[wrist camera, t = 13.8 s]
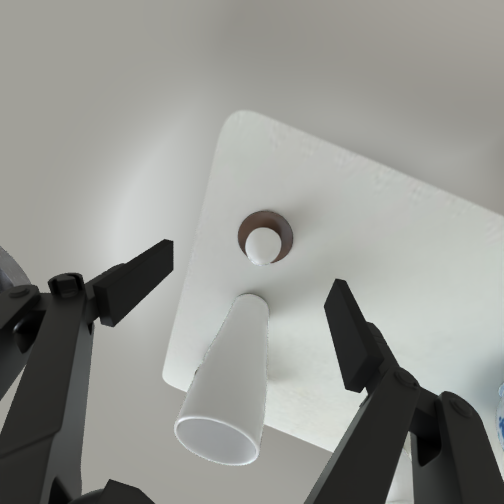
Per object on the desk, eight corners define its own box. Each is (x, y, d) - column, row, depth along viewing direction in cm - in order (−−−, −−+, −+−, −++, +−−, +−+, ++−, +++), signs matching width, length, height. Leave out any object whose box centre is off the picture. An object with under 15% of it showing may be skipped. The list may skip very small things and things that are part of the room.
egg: (287, 231, 22) (286, 251, 17) (274, 258, 24) (269, 284, 19) (255, 218, 22) (245, 234, 17) (245, 246, 24) (233, 269, 19)
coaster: (228, 236, 24) (227, 237, 24) (265, 198, 21) (264, 199, 21) (264, 271, 25) (264, 273, 25) (304, 239, 22) (304, 240, 22)
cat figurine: (386, 460, 38) (439, 626, 24) (325, 435, 38) (345, 587, 24) (420, 441, 34) (507, 628, 20) (352, 413, 34) (393, 581, 20)
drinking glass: (237, 279, 26) (183, 403, 13) (283, 300, 26) (277, 444, 13) (221, 313, 29) (164, 442, 16) (263, 332, 29) (240, 476, 16)
